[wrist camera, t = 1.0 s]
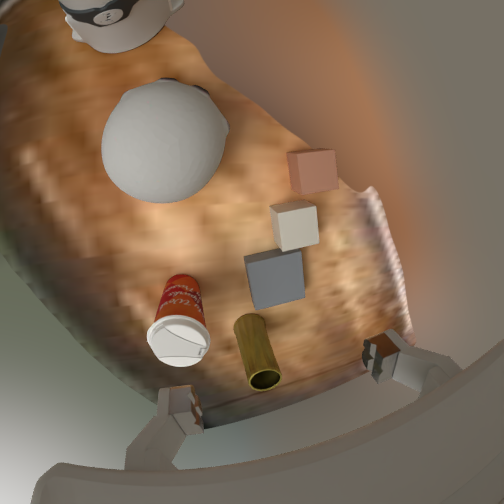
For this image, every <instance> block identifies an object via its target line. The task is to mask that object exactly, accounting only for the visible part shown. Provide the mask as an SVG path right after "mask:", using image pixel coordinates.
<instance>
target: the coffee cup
mask: <svg viewBox="0 0 504 504" xmlns="http://www.w3.org/2000/svg"><path fill="white" fill-rule="evenodd" d="M147 341H148V343H149V344H150V346H151V348H152V350H153V352H154V353H155V355H156V356H157V358H158V359H159V360H161V361H162V362H164V363H166V364H169V365H172V366H177V367H184V366H190V365H193V364H195V363H197V362H199V361H200V360H201V359H202V358H203V355H204V354H205V353H206V352H207V350H208V348H209V346H210V335H209V333H208V331H207V329H206V325H205V319H204V313H203V307H202V300H201V294H200V289H199V285H198V283H197V282H196V280H195V279H193V278H192V277H190V276H188V275H184V274H180V275H175V276H173V277H172V278H170V279H169V280H168V282H167V284H166V286H165V289H164V291H163V294H162V298H161V301H160V304H159V307H158V311H157V314H156V317H155V321H154V324H153V325H152V326H151V327H150V328H149V329H148V332H147Z"/></svg>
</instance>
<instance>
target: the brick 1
mask: <svg viewBox="0 0 504 504" xmlns="http://www.w3.org/2000/svg"><path fill="white" fill-rule="evenodd" d="M286 154H287V161H288V168H289V175H290V182H291V189H292V190H293V191H295V192H297V193H299V194H301V195H306V194H312V193H317V192H323V191H329V190H335V189H339V185H338V174H337V165H336V156H335V150H334V149H323V148H319V149H311V150H303V151H296V152H289V153H286Z"/></svg>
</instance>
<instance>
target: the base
mask: <svg viewBox="0 0 504 504" xmlns="http://www.w3.org/2000/svg"><path fill="white" fill-rule="evenodd" d="M244 261H245V266H246V271H247V276H248V282H249V287H250V292H251V297H252V302H253V304H254V307H255V310H259V309H264V308H268V307H272V306H275V305H279V304H283V303H287V302H291V301H295V300H298V299H302V298H305V288H304V276H303V265H302V254H301V250H300V249H299V248H297V249H293V250H288V251H284V252H282V250H281V249H280V248H279V249H275V250H270V251H266V252H261V253H257V254H253V255H248V256H244Z"/></svg>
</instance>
